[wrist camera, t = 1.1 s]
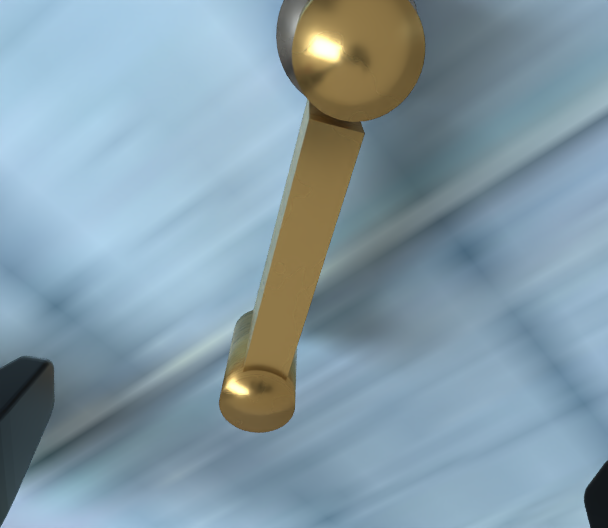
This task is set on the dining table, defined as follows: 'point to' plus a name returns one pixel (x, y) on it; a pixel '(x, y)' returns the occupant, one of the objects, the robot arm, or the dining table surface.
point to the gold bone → (317, 186)
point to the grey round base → (292, 34)
